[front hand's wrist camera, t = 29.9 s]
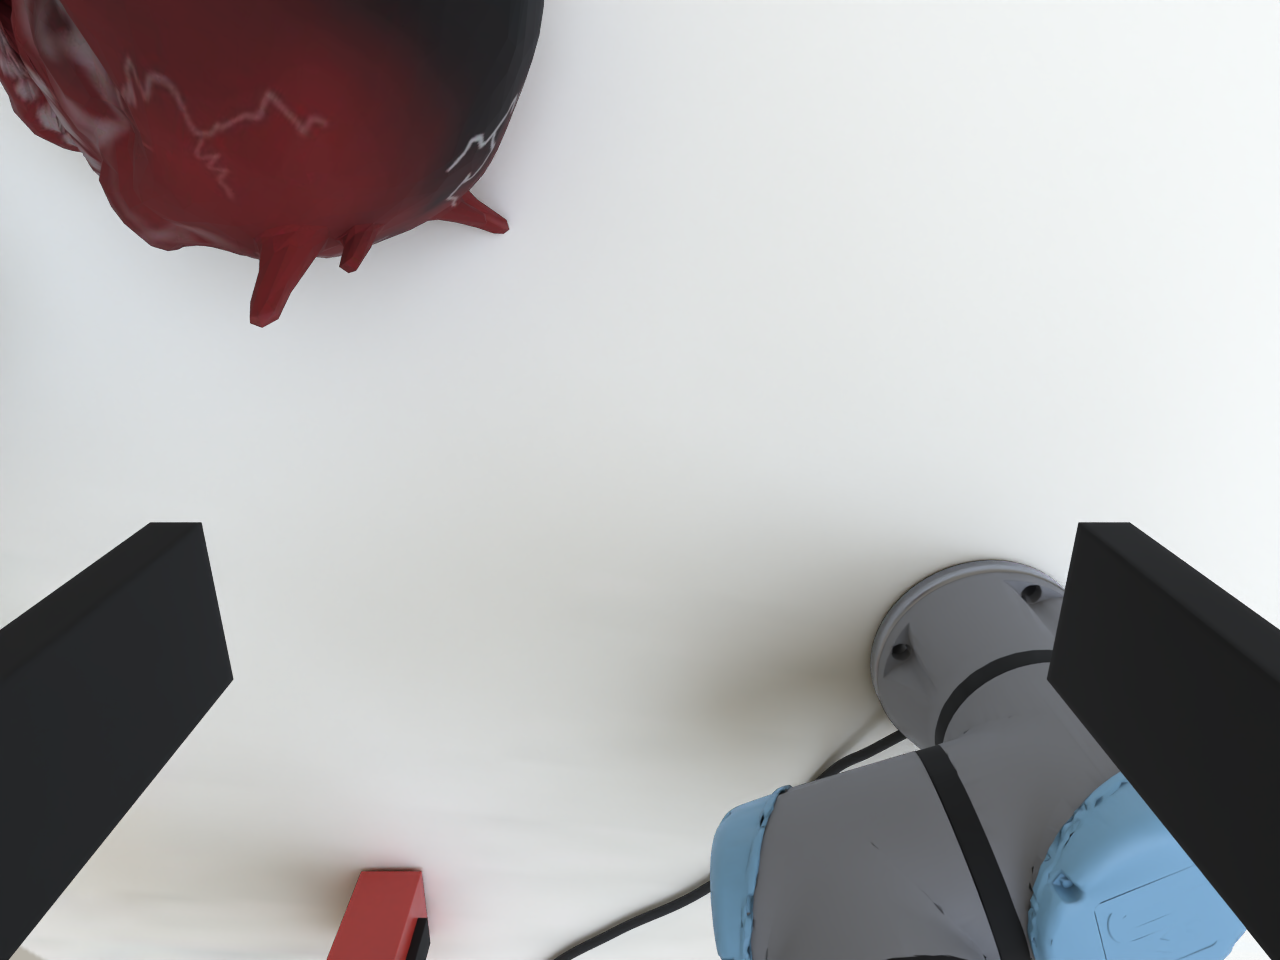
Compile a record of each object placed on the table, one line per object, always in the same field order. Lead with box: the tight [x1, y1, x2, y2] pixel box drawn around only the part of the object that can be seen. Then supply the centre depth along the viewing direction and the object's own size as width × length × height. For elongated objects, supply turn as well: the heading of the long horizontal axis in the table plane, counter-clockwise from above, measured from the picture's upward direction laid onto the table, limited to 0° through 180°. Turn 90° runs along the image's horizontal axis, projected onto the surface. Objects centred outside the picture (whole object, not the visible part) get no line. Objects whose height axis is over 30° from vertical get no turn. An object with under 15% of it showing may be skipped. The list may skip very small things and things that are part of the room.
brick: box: [327, 871, 427, 960], centre depth 63 cm, size 5×8×9 cm, turn 0°
